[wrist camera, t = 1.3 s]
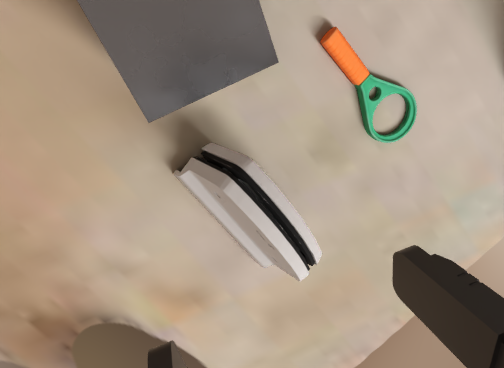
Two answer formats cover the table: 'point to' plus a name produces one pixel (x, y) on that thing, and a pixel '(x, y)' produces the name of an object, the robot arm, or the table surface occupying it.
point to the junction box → (181, 47)
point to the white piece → (251, 209)
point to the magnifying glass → (368, 86)
